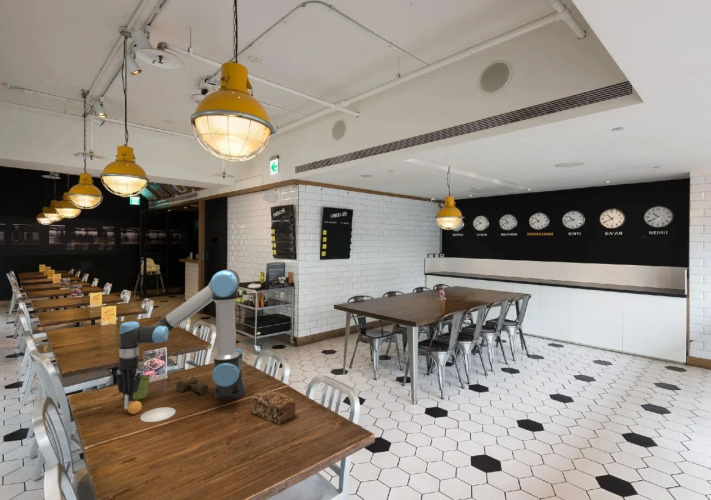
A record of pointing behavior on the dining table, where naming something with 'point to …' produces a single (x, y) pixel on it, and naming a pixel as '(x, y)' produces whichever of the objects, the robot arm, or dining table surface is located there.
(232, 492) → the dining table surface
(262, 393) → the bread
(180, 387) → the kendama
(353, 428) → the dining table surface
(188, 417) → the dining table surface
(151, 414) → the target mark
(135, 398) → the plant pot
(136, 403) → the ball
